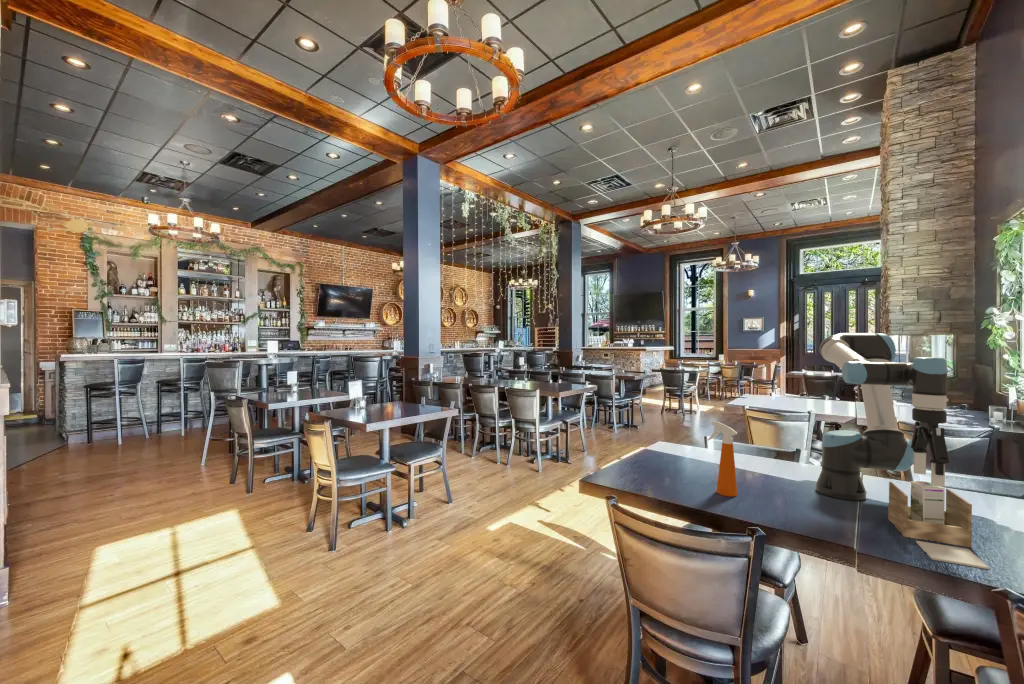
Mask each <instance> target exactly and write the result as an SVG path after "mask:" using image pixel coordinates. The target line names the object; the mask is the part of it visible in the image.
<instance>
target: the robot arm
mask: <svg viewBox="0 0 1024 684" xmlns="http://www.w3.org/2000/svg"><path fill="white" fill-rule="evenodd" d="M896 349H897V348H896V345H895V342H894V340H893V338H892V337H891V336H890V335H888V334H887V333H883V332H882V333H879V332H838V333H834V334H831V335H829V336H827V337H826V338H824V339H823V340H822V341H821V343H820V344H819V354H820V356H821V357H822V358H823V359H824V360H825V361H827V362H829V363H832V364H835V365H836V367H838V368H839V369H840V370H841V377H842V379H843V381H844V382H845V383H846V384H854V385H856V386H857V385H860V387H861V394H862V398H863V399H862V400H863V406H864V411H865V412H864V413H865V419H866V427H867V429H866V430H864V431H863V432H862V433H863V434H861V432H859V431H857V430H856V431H855V430H848V429H847V430H845V429H841V430H838V429H837V430H829V431H827V432H824V433H823V435H822V440H821V442H822V443H821V471H820V473H819V476H818V478H817V481H816V483H815V490H816V491H817V492H818V493H820V494H822V495H825V496H827V497H831V498H836V499H839V500H845V501H846V500H847V501H864V500H866V499H867V490H866V488H865V485H864V482H863V480H862V476H861V469H872V470H880V471H890V472H906V471H908V470H910V469H911V467H912V466H913V474H916V475H917V474H919V475H926V474H927V473H926V472H927V454H928V451H927V447H928V448H929V452H930V456H931V458H932V459H930V461H929V463H931V464H930V466H931V467H930V469H931V470H930V471H931V472H930V473H931V474H930V479H931V480H930V482H931V485H933V486H940V487H942V488H945V486H946V484H945V482H946V481H945V480H946V464H949V463H950V459H949V455H948V449H947V444H946V439H945V429H944V428H941V427H939V424H946V423H947V421H948V420H947V416H948V414H947V413H948V412H947V411H946V409H947V402H949V398H948V397H947V393H948V392H947V391H948V388H947V387H948V371H949V370H948V363H947V359H945V358H943V357H931V356H929V357H925V356H924V357H919V356H917V357H916V356H915V357H914V358H913V359H912V361H907V362H905V361H903V362H898V361H897V362H896V361H895V358H896V357H897V356H896V355H897V353H896V352H897V350H896ZM894 361H895V362H894ZM891 386H898V387H899V386H900V387H902V386H903V387H904V386H905V387H912V392H911V395H912V397H911V406H913V407H914V408H912V409H911V418H912V420H913V421H914V430H913V435H912V439H909V438H905V434H904V431H902V430H901V429H899V428H898V426H897V425H898V424H897V417H896V413H895V407H894V402H893V401H894V400H893V395H892V391H891Z"/></svg>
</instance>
